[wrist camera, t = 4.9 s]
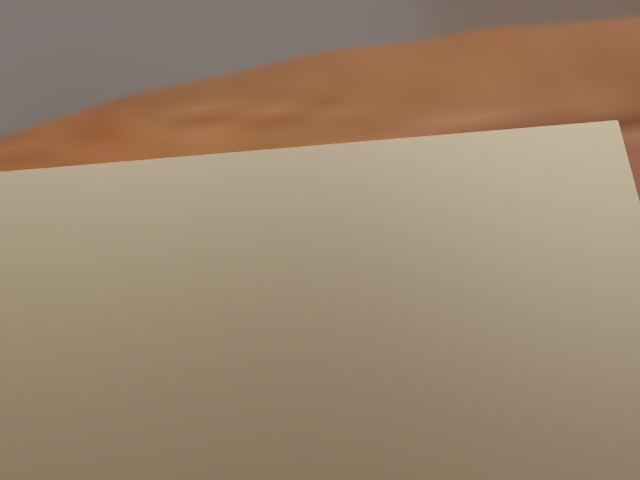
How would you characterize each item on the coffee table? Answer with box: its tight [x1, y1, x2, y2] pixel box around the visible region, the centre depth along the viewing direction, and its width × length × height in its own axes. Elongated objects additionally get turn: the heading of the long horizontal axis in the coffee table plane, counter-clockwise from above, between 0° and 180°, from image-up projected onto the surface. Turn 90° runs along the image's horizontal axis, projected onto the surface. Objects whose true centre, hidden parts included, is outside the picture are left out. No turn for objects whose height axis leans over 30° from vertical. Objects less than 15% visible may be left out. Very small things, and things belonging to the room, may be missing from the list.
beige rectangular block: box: [0, 120, 640, 480], centre depth 9 cm, size 5×5×13 cm
